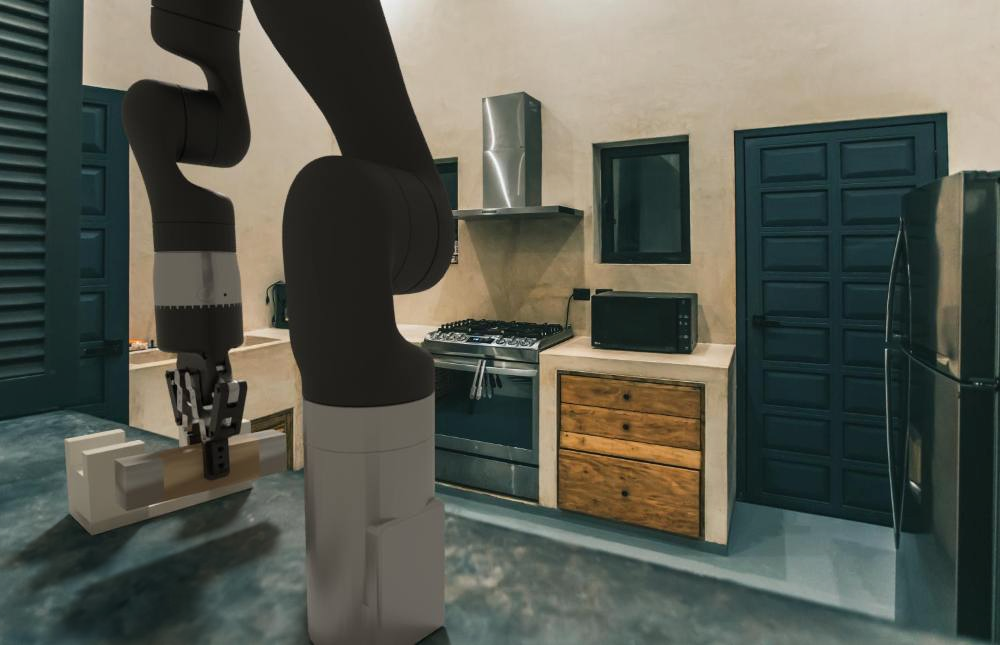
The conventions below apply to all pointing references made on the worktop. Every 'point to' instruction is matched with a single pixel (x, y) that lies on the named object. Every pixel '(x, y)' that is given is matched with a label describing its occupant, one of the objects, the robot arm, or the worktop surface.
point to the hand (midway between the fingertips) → (209, 472)
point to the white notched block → (96, 481)
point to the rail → (195, 469)
